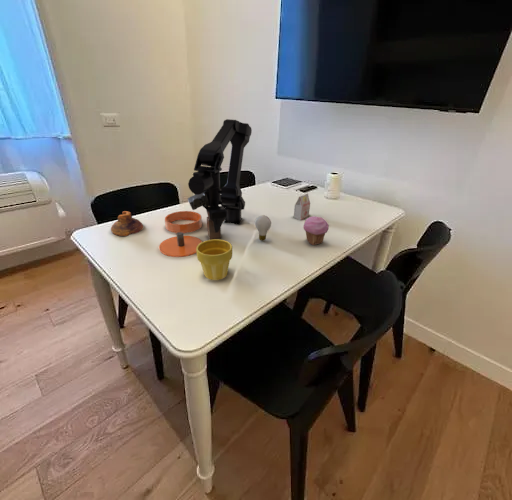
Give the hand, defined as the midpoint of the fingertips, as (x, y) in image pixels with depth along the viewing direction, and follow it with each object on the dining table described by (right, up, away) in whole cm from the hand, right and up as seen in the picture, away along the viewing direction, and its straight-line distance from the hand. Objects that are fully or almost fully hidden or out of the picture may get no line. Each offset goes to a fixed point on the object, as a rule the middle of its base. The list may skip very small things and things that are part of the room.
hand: (213, 227), depth 112 cm
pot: (-14, +1, +10) cm, 17 cm away
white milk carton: (+36, +6, +23) cm, 43 cm away
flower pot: (+3, -16, -20) cm, 26 cm away
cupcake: (+37, -6, +1) cm, 38 cm away
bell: (-35, -1, +7) cm, 35 cm away
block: (0, -4, +2) cm, 4 cm away
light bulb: (+18, -5, +1) cm, 19 cm away
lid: (-11, -7, -5) cm, 14 cm away
